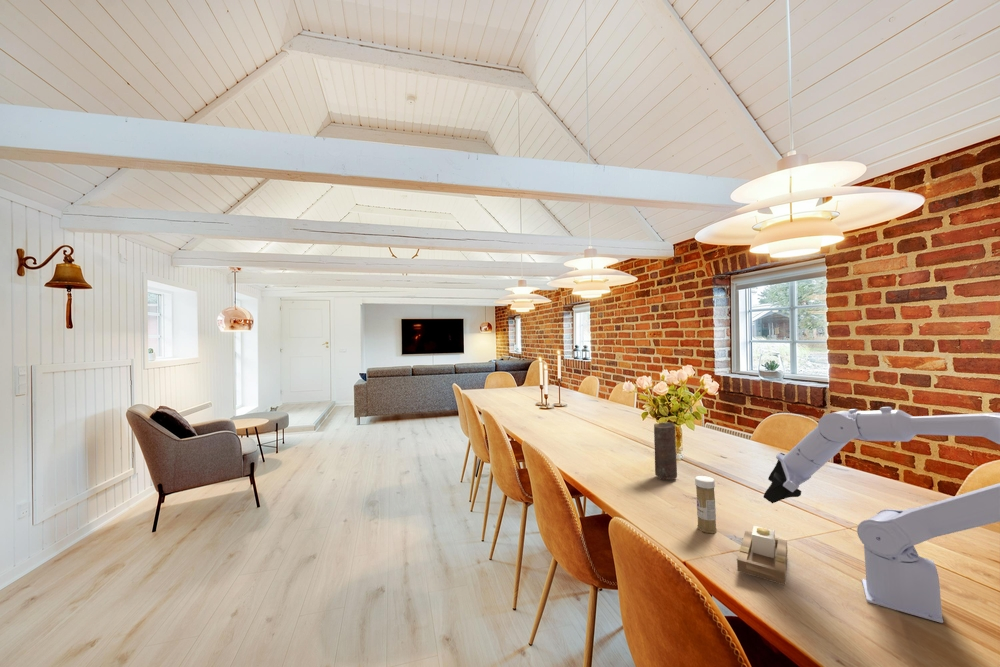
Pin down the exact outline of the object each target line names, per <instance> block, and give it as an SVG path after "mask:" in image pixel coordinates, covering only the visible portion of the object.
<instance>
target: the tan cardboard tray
mask: <svg viewBox="0 0 1000 667" xmlns="http://www.w3.org/2000/svg"><path fill="white" fill-rule="evenodd" d="M775 547H776V549H775V557H774V558H771V557H767V556H763V555H759V554H756V553H753V549H752V531H748V530H745V531H744V535H743V538H742V542H741V545H740V547H739V551H738V555H737V558H736V563H737V572H740V573H743V574H746V575H749V576H754V577H757V578H761V579H763V580H767V581H770V582H773V583H774V582H775V583H777V584H780V585H786V580H787V579H786V578H787V565H788V540H786V539H784V538H783V539H782V538H779V537H775Z"/></svg>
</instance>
